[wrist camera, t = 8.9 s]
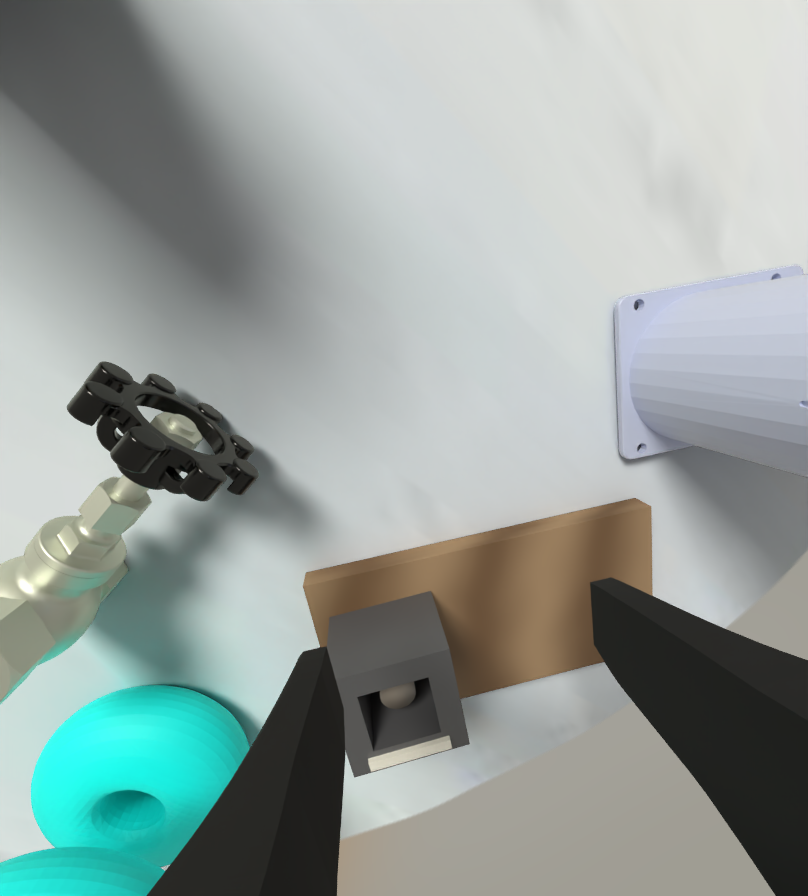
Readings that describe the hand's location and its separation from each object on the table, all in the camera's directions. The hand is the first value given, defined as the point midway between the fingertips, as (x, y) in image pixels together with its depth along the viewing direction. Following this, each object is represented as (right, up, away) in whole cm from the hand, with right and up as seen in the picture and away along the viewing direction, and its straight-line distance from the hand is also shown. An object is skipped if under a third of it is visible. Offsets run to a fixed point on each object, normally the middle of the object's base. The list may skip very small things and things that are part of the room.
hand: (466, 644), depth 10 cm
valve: (-14, +3, +8) cm, 17 cm away
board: (+3, -4, +12) cm, 12 cm away
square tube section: (-2, -5, +10) cm, 11 cm away
